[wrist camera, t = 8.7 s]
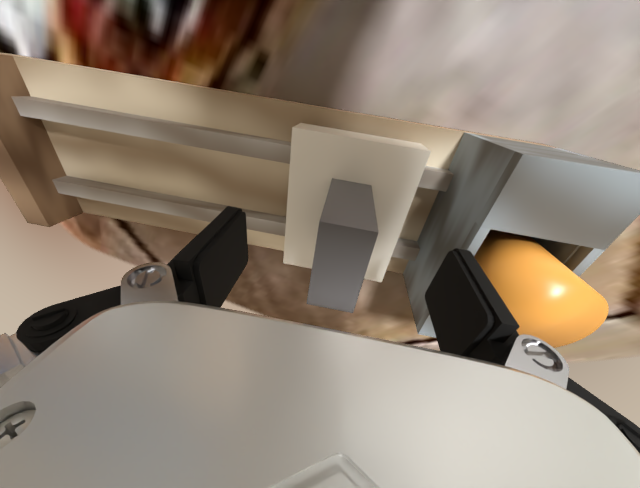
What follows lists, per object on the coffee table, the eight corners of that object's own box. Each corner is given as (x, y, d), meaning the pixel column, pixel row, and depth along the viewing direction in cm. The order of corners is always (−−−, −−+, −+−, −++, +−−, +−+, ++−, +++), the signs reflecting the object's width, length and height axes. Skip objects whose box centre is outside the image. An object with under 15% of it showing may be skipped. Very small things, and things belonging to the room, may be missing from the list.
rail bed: (11, 54, 18) (-198, 30, 11) (543, 144, 16) (673, 179, 10) (78, 202, 24) (-28, 244, 18) (462, 275, 23) (505, 351, 16)
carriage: (300, 122, 16) (254, 147, 9) (421, 143, 16) (475, 186, 8) (290, 246, 21) (256, 323, 14) (379, 263, 21) (390, 351, 14)
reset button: (478, 221, 14) (531, 278, 9) (549, 234, 14) (635, 298, 9) (448, 274, 16) (480, 339, 12) (509, 285, 16) (564, 355, 12)
